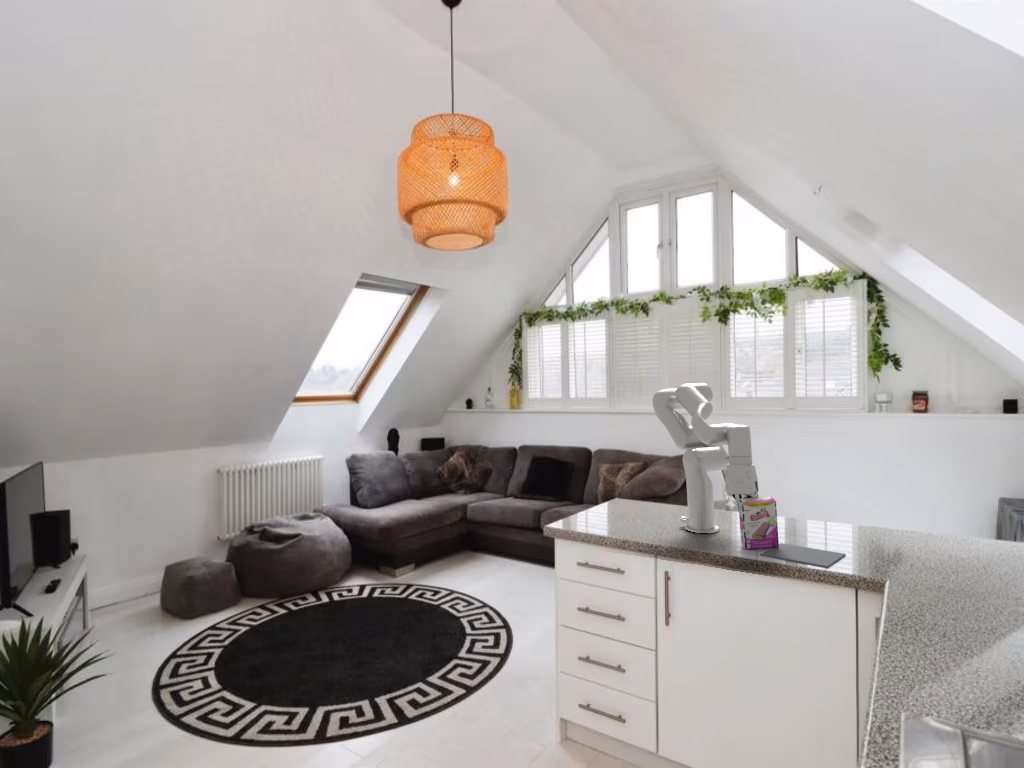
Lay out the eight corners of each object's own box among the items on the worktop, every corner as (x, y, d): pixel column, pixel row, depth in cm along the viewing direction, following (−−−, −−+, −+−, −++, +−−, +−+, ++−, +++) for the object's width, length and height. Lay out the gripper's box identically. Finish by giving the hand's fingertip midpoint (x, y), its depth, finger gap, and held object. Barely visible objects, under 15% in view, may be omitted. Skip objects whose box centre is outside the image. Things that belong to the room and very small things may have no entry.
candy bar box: (745, 550, 188) (741, 503, 186) (740, 544, 193) (736, 498, 191) (780, 547, 187) (776, 500, 185) (774, 542, 192) (770, 495, 190)
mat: (760, 555, 182) (760, 553, 182) (780, 544, 193) (780, 543, 193) (827, 567, 167) (827, 566, 167) (845, 555, 178) (845, 553, 178)
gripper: (714, 461, 197) (718, 513, 197) (756, 463, 186) (760, 518, 186) (725, 458, 202) (728, 509, 202) (766, 460, 191) (770, 514, 191)
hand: (743, 513), depth 194 cm, fingers closed
